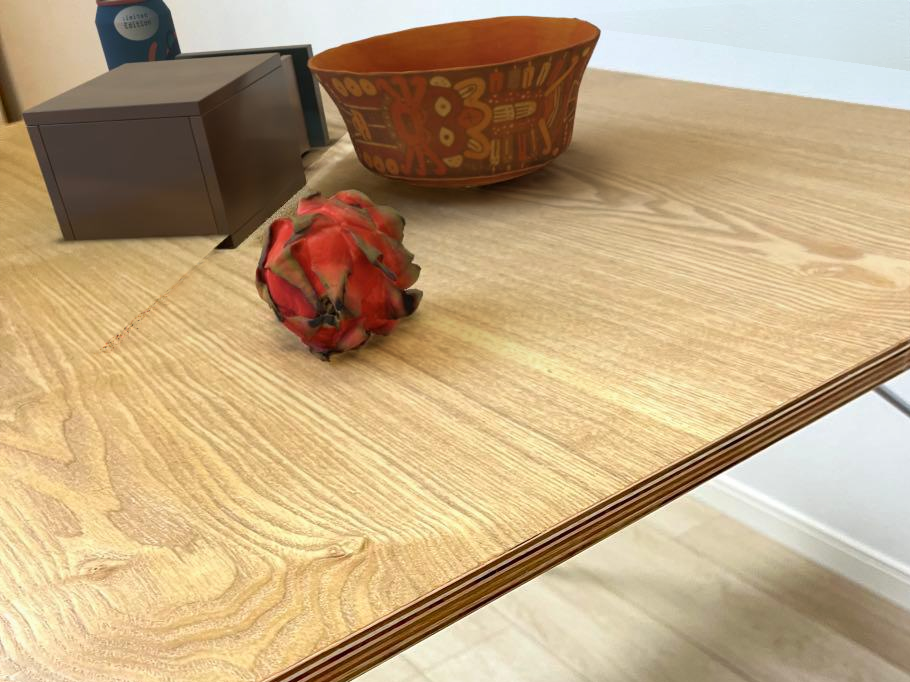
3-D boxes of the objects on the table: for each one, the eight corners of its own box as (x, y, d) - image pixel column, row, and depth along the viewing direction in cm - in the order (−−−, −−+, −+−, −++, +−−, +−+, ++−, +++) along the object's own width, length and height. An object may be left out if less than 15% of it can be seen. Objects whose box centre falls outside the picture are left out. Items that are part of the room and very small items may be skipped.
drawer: (224, 136, 103) (201, 42, 99) (346, 129, 101) (328, 33, 96) (132, 199, 89) (101, 92, 84) (272, 192, 86) (248, 83, 82)
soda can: (188, 134, 109) (152, -3, 102) (117, 141, 109) (77, 5, 103) (206, 116, 115) (174, -15, 108) (139, 123, 115) (103, -7, 109)
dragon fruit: (378, 316, 70) (366, 432, 61) (246, 254, 67) (214, 367, 58) (443, 202, 66) (441, 310, 57) (305, 130, 62) (279, 232, 53)
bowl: (383, 145, 99) (362, 20, 93) (627, 133, 94) (619, 1, 89) (292, 226, 82) (260, 80, 76) (583, 217, 77) (571, 61, 72)
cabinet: (160, 189, 94) (124, 63, 88) (307, 183, 91) (279, 52, 86) (68, 254, 82) (20, 112, 76) (234, 248, 79) (197, 101, 74)
